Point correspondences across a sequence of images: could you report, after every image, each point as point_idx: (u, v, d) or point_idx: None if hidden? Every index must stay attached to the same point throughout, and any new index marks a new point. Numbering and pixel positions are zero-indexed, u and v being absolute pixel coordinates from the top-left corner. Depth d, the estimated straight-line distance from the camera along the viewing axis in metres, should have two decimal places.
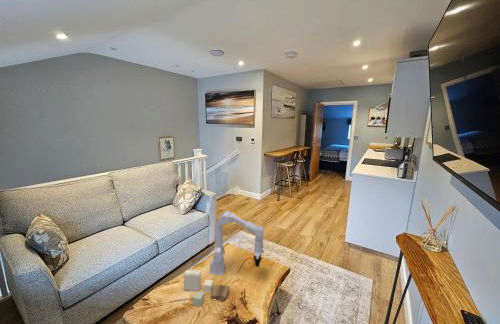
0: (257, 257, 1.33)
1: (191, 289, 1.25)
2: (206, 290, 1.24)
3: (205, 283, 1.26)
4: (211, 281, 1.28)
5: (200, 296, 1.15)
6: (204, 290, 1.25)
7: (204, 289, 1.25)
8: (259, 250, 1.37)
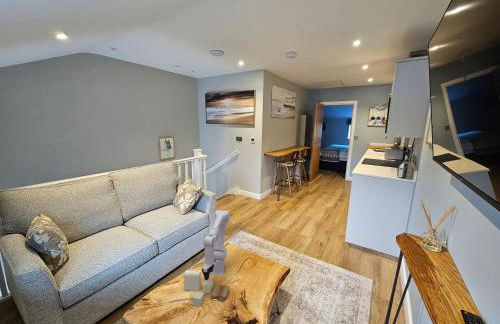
0: (205, 270, 1.18)
1: (191, 289, 1.25)
2: (206, 290, 1.24)
3: (205, 283, 1.26)
4: (211, 281, 1.28)
5: (200, 296, 1.15)
6: (204, 290, 1.25)
7: (204, 289, 1.25)
8: (209, 262, 1.22)
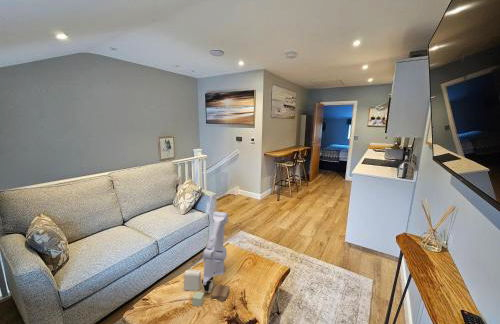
0: (204, 283, 1.19)
1: (191, 289, 1.25)
2: None
3: None
4: (211, 281, 1.28)
5: (200, 296, 1.15)
6: (204, 290, 1.25)
7: None
8: (208, 274, 1.23)
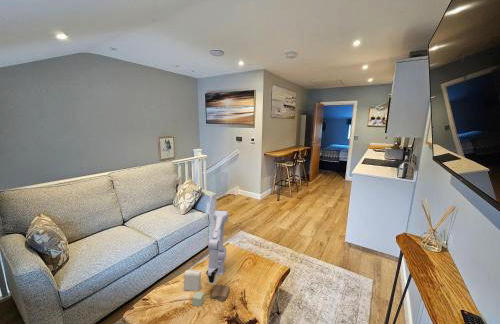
0: (209, 273, 1.17)
1: (191, 289, 1.25)
2: None
3: None
4: (216, 272, 1.25)
5: (200, 296, 1.15)
6: None
7: None
8: (213, 265, 1.21)
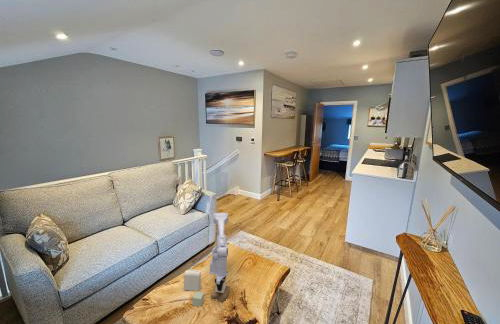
0: (218, 282, 1.14)
1: (191, 289, 1.25)
2: None
3: None
4: (224, 280, 1.23)
5: (200, 296, 1.15)
6: (217, 289, 1.20)
7: None
8: (221, 273, 1.19)
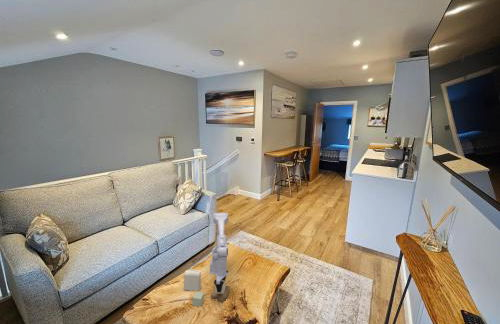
0: (218, 282, 1.14)
1: (191, 289, 1.25)
2: None
3: None
4: (223, 281, 1.23)
5: (200, 296, 1.15)
6: (216, 291, 1.20)
7: None
8: (221, 273, 1.19)
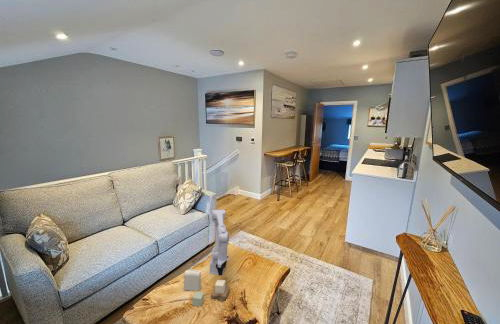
0: (219, 265, 1.23)
1: (191, 289, 1.25)
2: (218, 291, 1.20)
3: (217, 283, 1.21)
4: (223, 281, 1.23)
5: (200, 296, 1.15)
6: (216, 291, 1.20)
7: (217, 289, 1.20)
8: (222, 258, 1.27)
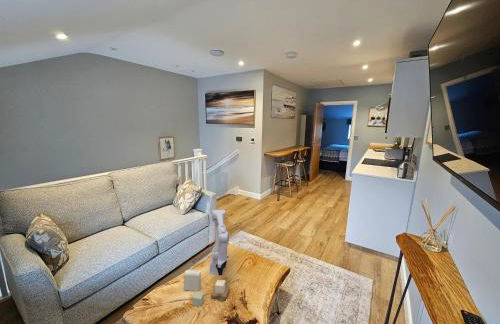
0: (219, 265, 1.23)
1: (191, 289, 1.25)
2: (218, 291, 1.20)
3: (217, 283, 1.21)
4: (223, 281, 1.23)
5: (200, 296, 1.15)
6: (216, 291, 1.20)
7: (217, 289, 1.20)
8: (222, 258, 1.27)
